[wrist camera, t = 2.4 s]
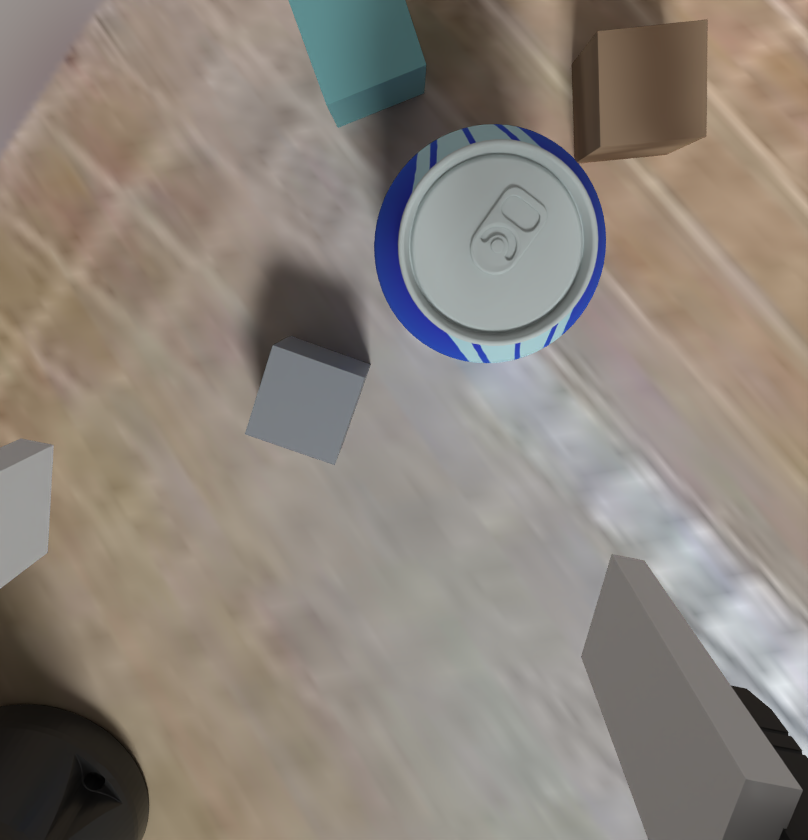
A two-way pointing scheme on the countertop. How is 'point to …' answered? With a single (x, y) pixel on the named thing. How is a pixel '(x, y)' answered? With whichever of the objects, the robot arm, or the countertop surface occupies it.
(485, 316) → the beer can
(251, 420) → the grey cube
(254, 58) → the countertop surface
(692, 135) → the walnut cube
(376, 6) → the teal cube
